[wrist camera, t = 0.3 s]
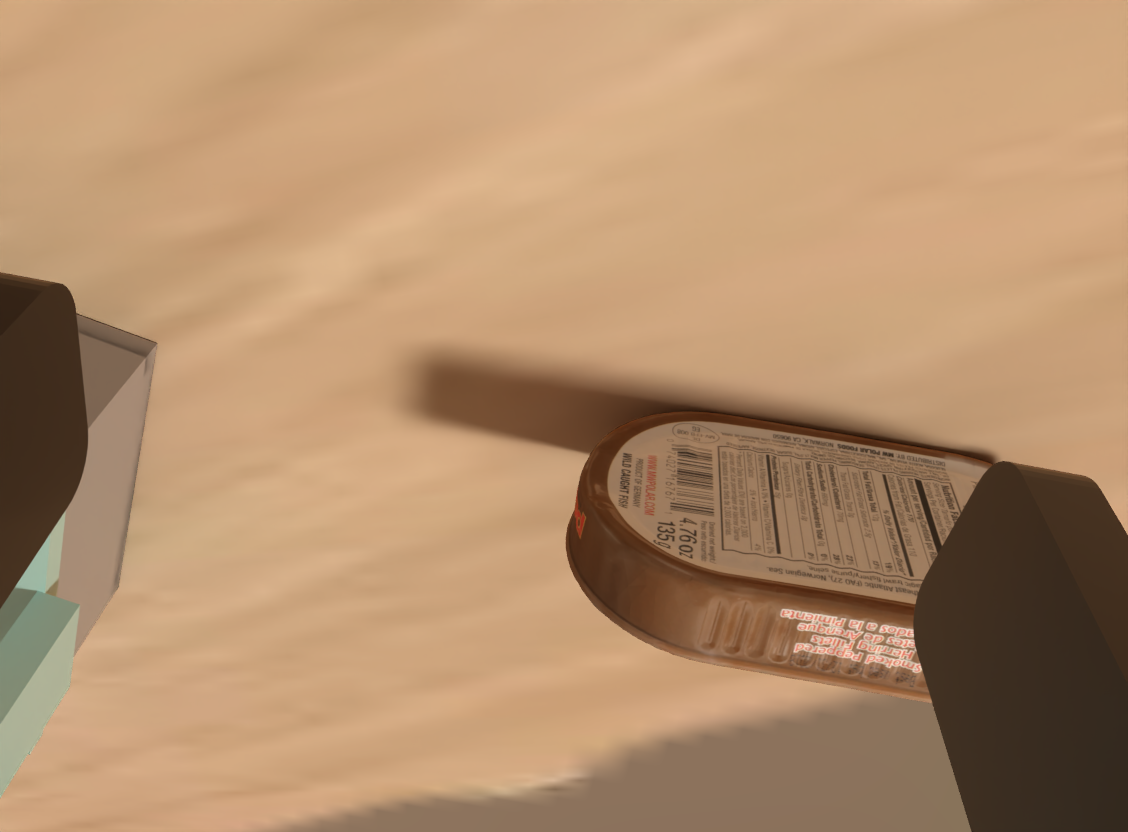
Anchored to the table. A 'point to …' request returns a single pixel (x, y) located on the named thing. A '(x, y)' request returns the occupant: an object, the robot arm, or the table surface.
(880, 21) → the table surface
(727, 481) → the tin
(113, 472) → the tub
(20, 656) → the lid
